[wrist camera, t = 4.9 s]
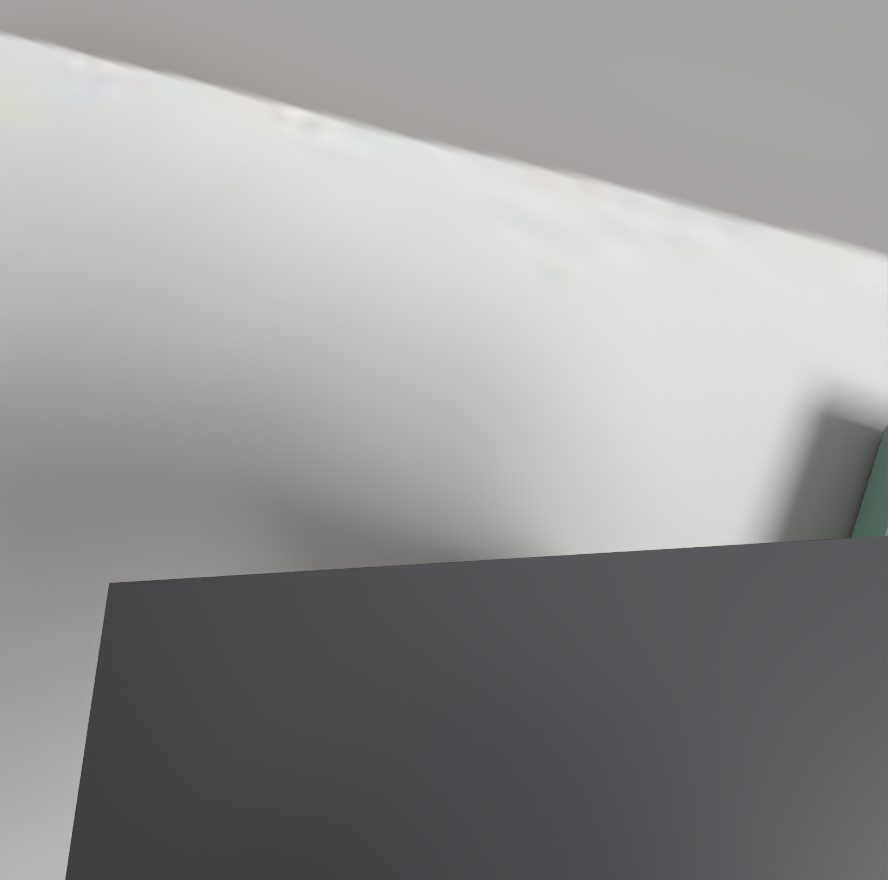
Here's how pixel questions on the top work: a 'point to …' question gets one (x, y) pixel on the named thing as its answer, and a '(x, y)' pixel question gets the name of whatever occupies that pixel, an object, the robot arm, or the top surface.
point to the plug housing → (497, 720)
